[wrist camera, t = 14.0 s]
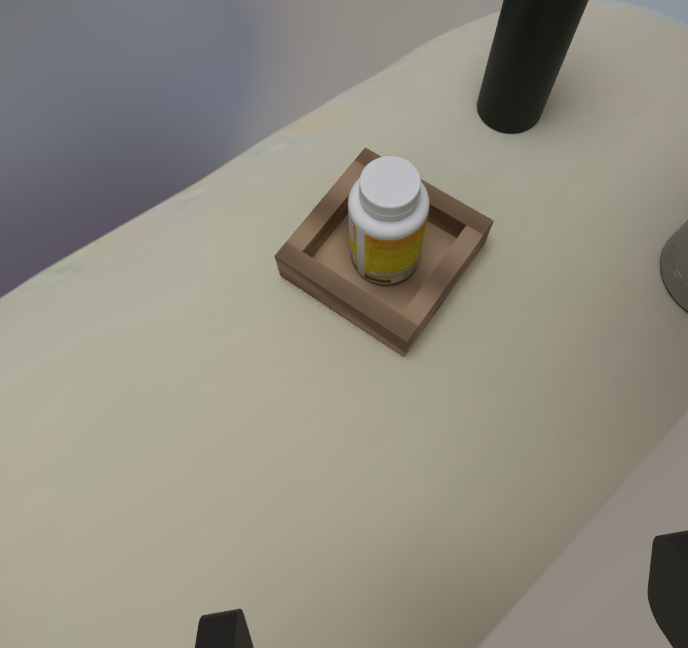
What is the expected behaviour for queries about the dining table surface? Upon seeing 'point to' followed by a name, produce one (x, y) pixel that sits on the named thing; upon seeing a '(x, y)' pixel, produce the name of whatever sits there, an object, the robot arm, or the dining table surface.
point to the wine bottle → (526, 60)
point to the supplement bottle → (387, 220)
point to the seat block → (372, 298)
